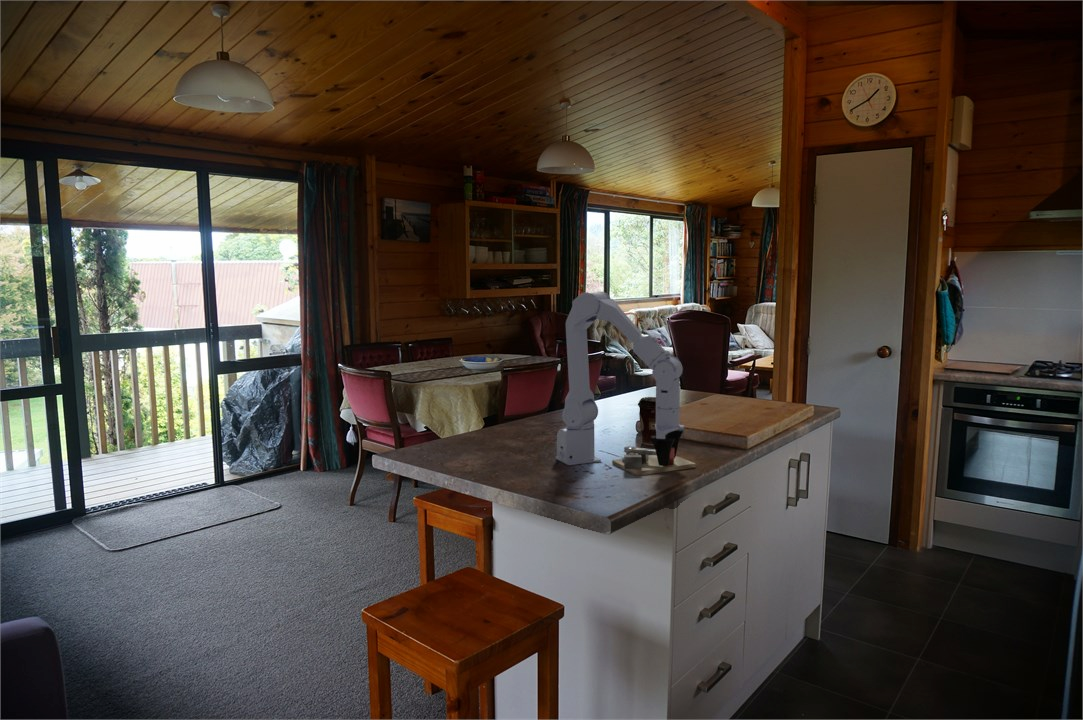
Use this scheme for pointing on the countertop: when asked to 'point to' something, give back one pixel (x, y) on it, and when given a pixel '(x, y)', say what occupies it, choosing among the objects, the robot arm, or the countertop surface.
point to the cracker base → (649, 464)
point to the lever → (648, 453)
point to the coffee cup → (647, 419)
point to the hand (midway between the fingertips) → (667, 461)
